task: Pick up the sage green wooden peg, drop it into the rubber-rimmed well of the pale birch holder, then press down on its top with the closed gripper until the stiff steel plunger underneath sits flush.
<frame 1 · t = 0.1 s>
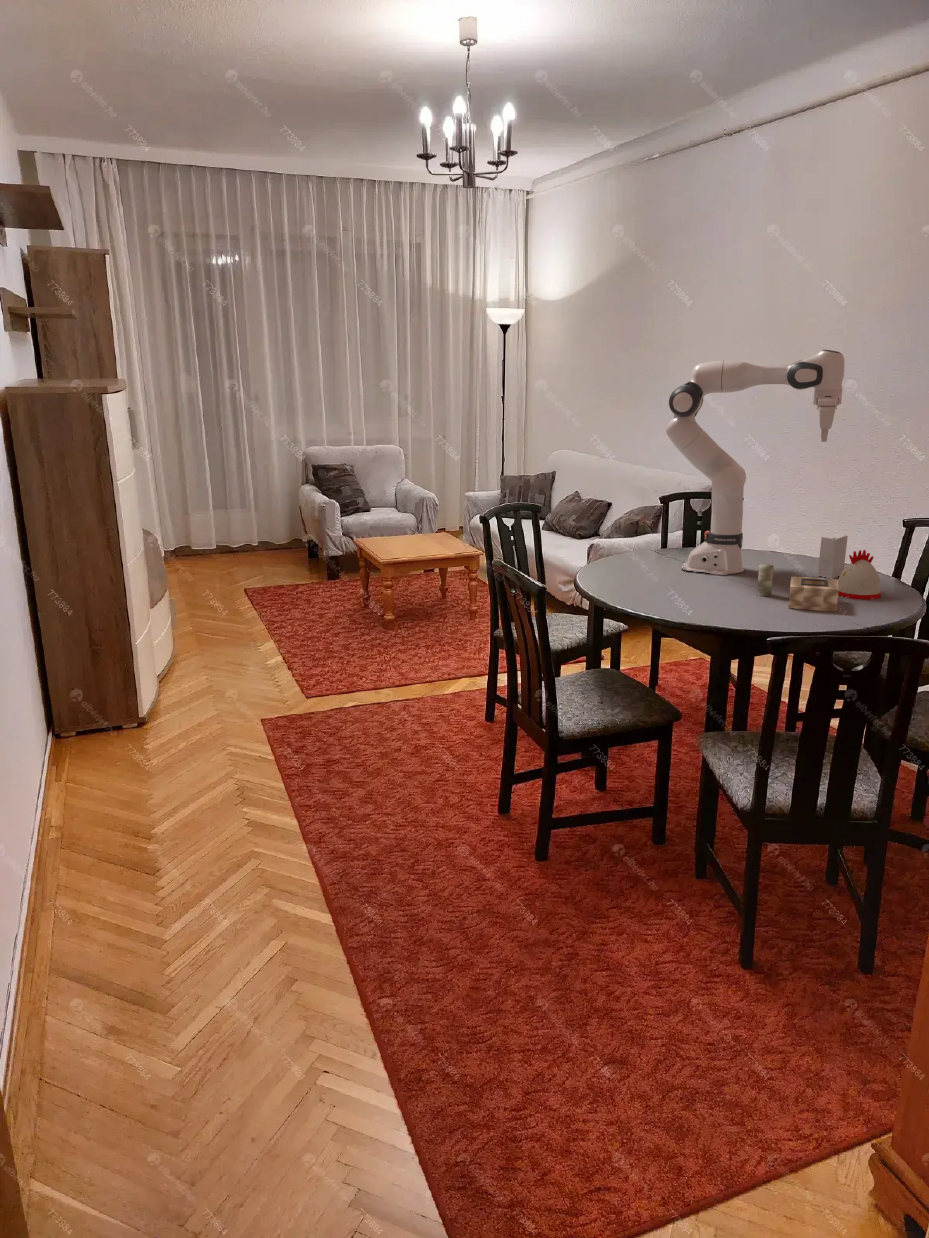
hand: (823, 440, 300), 48 cm above the table, tool pointing down, fingers open, 8 cm apart
plunger: (813, 590, 276), point 5 cm above the table, slide at 3.0 cm
peg: (764, 594, 289), on the table
skincare box: (830, 576, 311), on the table
kitchen timer: (857, 595, 287), on the table
birch holder: (812, 604, 277), on the table
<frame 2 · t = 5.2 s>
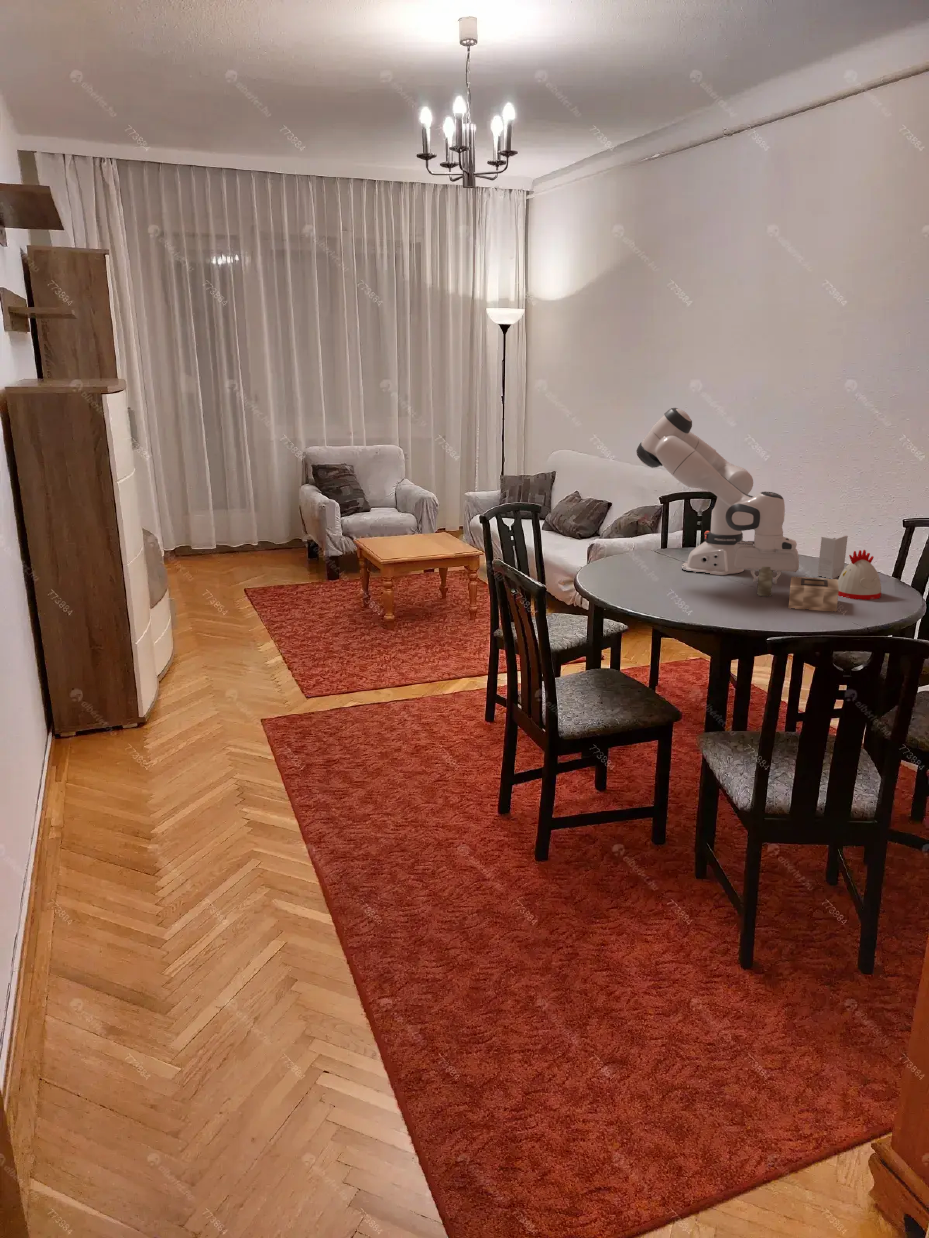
hand: (765, 582, 288), 4 cm above the table, tool pointing down, fingers closed on peg, 4 cm apart
peg: (764, 594, 289), on the table, touching gripper
everything else where it was.
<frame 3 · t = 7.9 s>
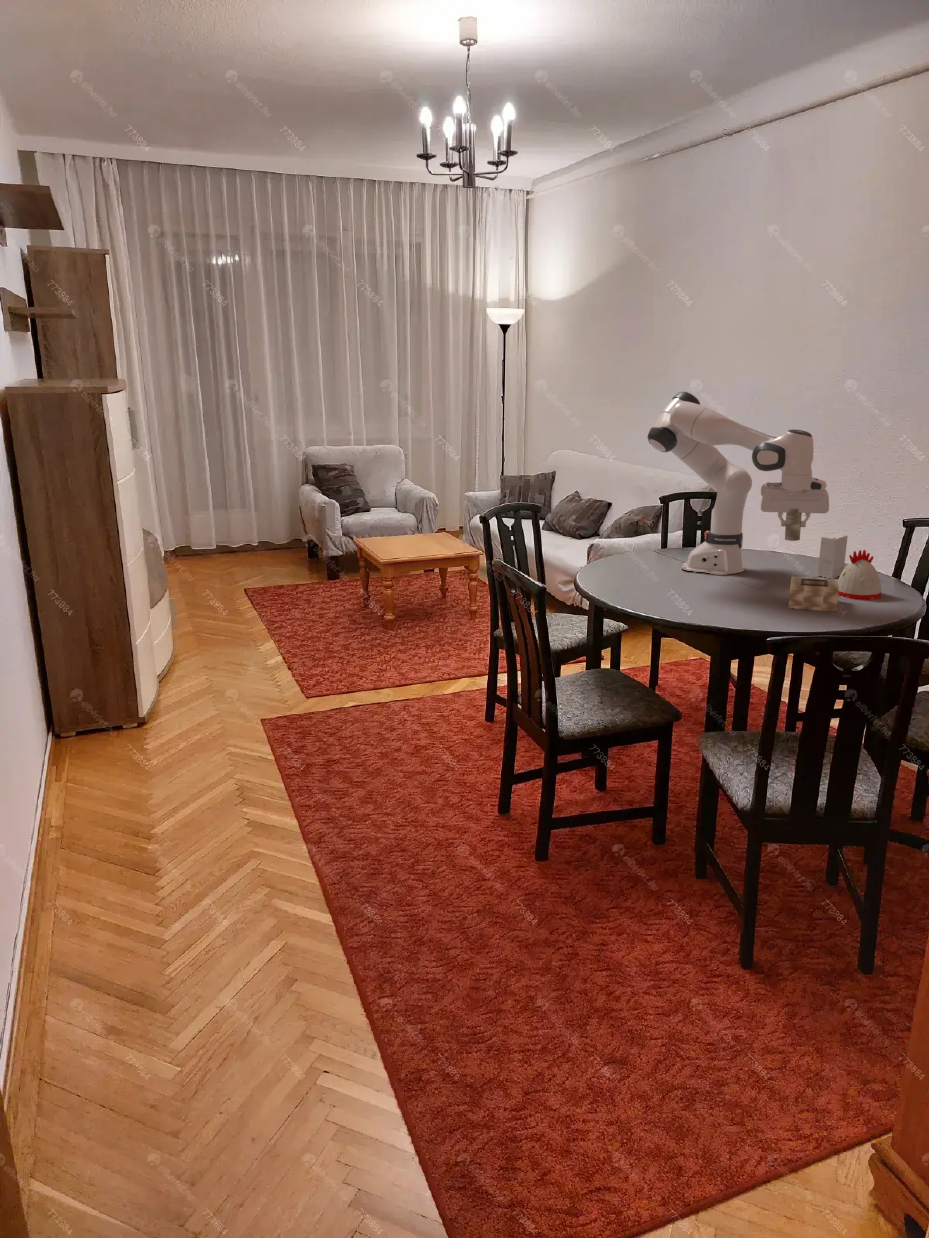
hand: (793, 526, 275), 24 cm above the table, tool pointing down, fingers closed on peg, 4 cm apart
peg: (792, 539, 276), point 20 cm above the table, touching gripper
everything else where it was.
when the fingers open (10 cm above the table, at t = 10.9 s): peg drops 1 cm, resting on plunger.
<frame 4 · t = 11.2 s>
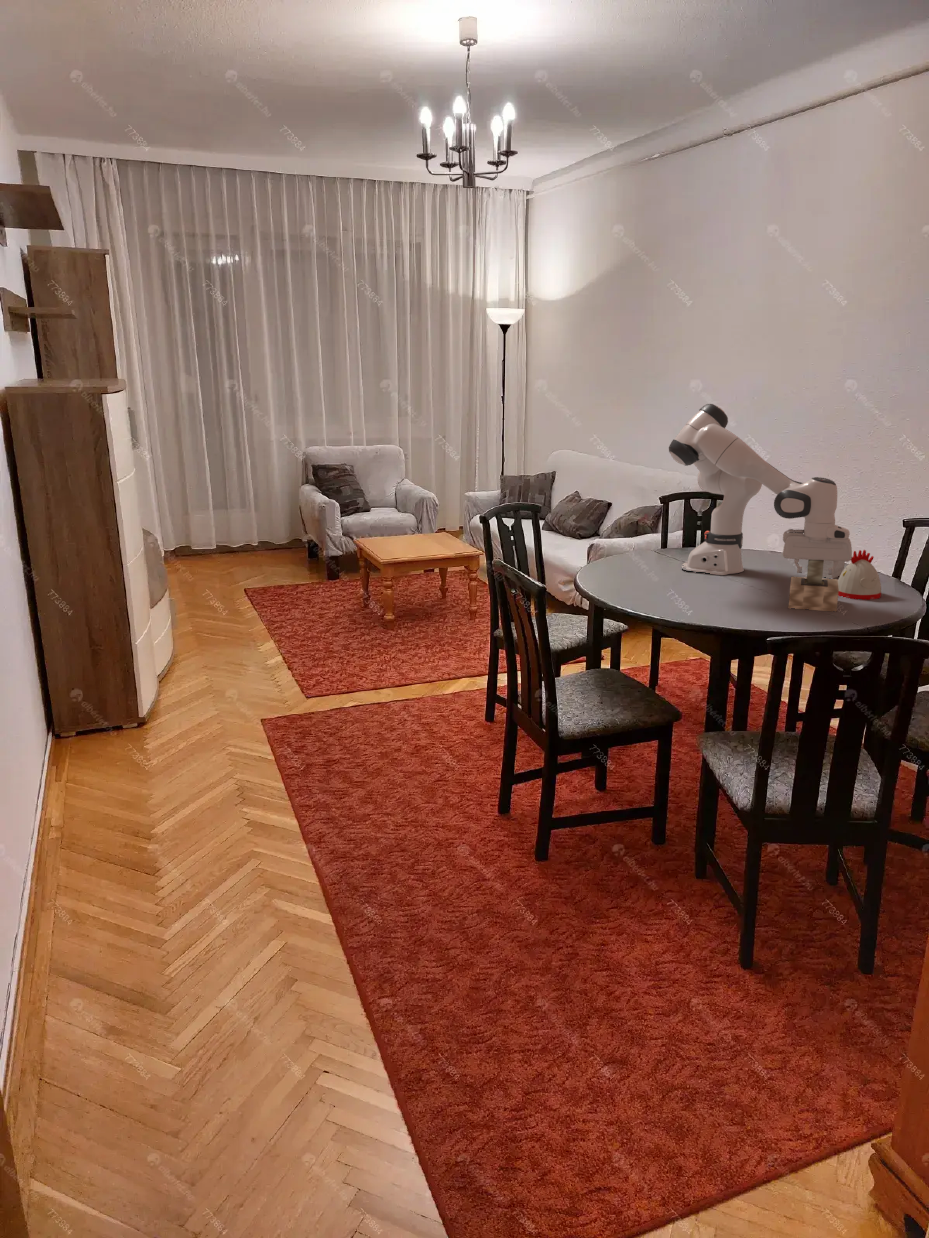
hand: (815, 573, 274), 10 cm above the table, tool pointing down, fingers open, 8 cm apart
plunger: (813, 592, 276), point 4 cm above the table, slide at 2.4 cm, touching peg
peg: (813, 590, 276), point 5 cm above the table, touching plunger
everything else where it was.
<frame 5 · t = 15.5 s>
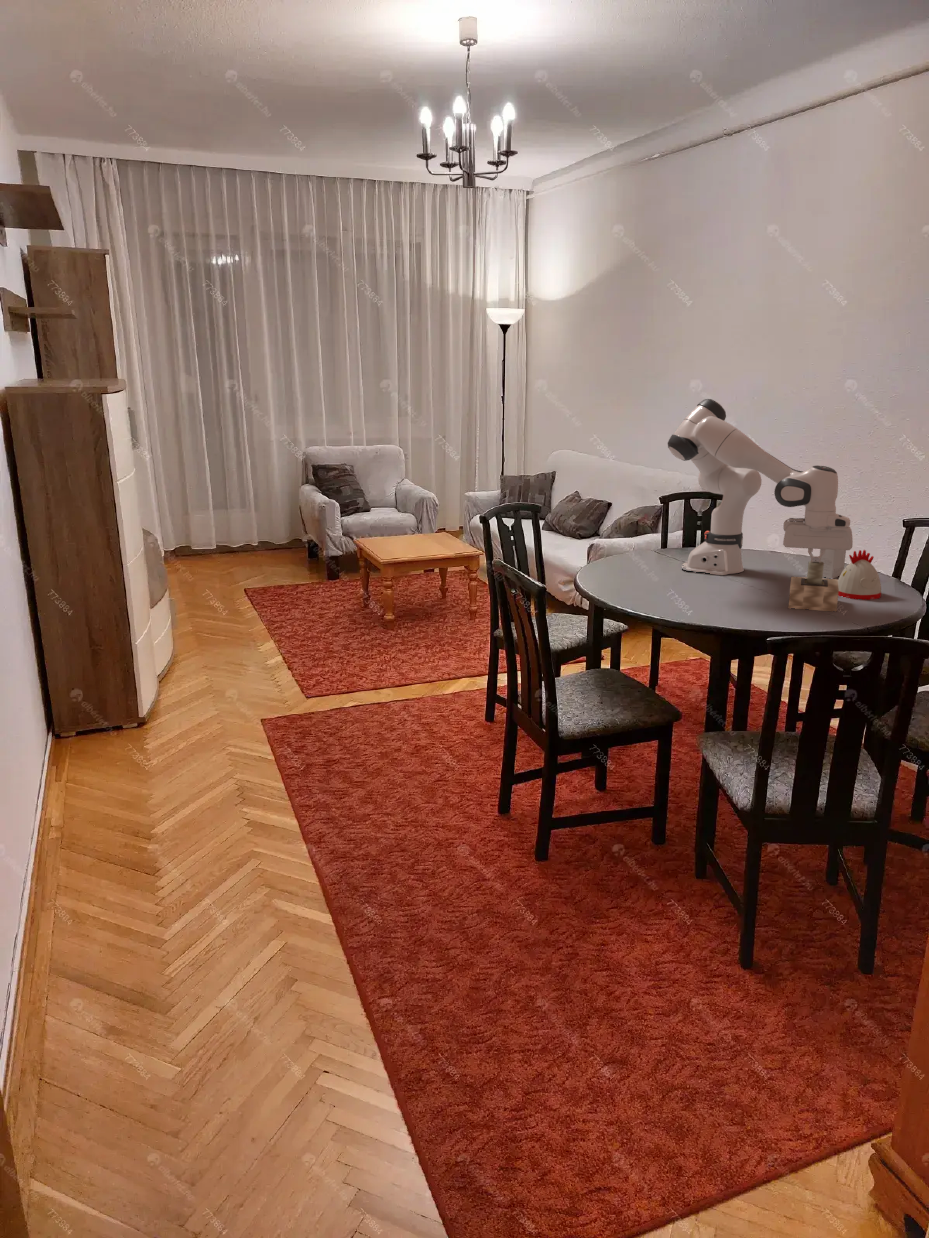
hand: (815, 562, 273), 14 cm above the table, tool pointing down, fingers closed, pressing on peg
plunger: (813, 594, 276), point 3 cm above the table, slide at 1.5 cm, touching peg
peg: (813, 593, 276), point 4 cm above the table, touching gripper, plunger
everything else where it was.
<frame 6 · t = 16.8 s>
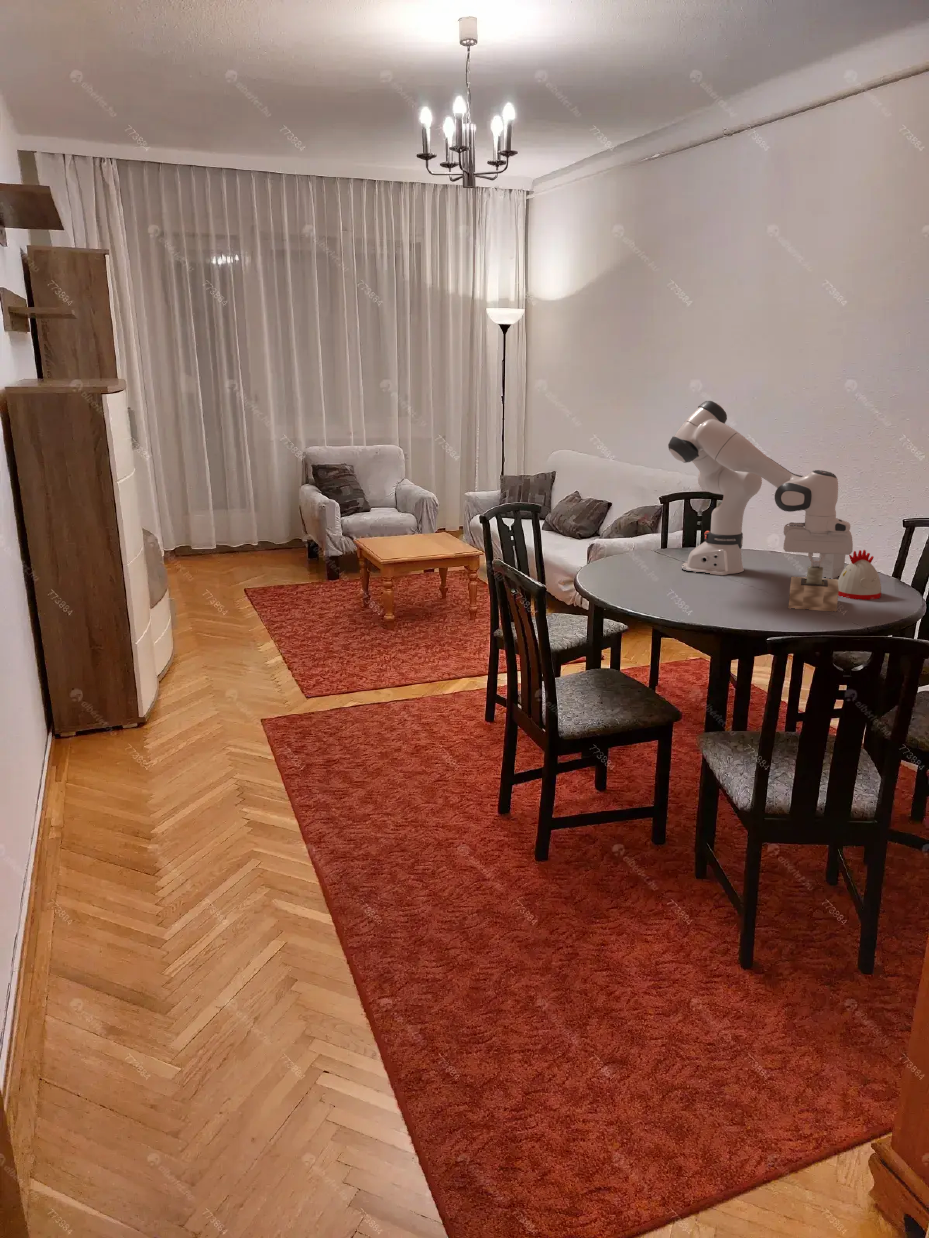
hand: (815, 566, 273), 12 cm above the table, tool pointing down, fingers closed
plunger: (812, 599, 276), point 2 cm above the table, slide at -0.1 cm, touching peg
peg: (812, 598, 276), point 2 cm above the table, touching plunger
everything else where it was.
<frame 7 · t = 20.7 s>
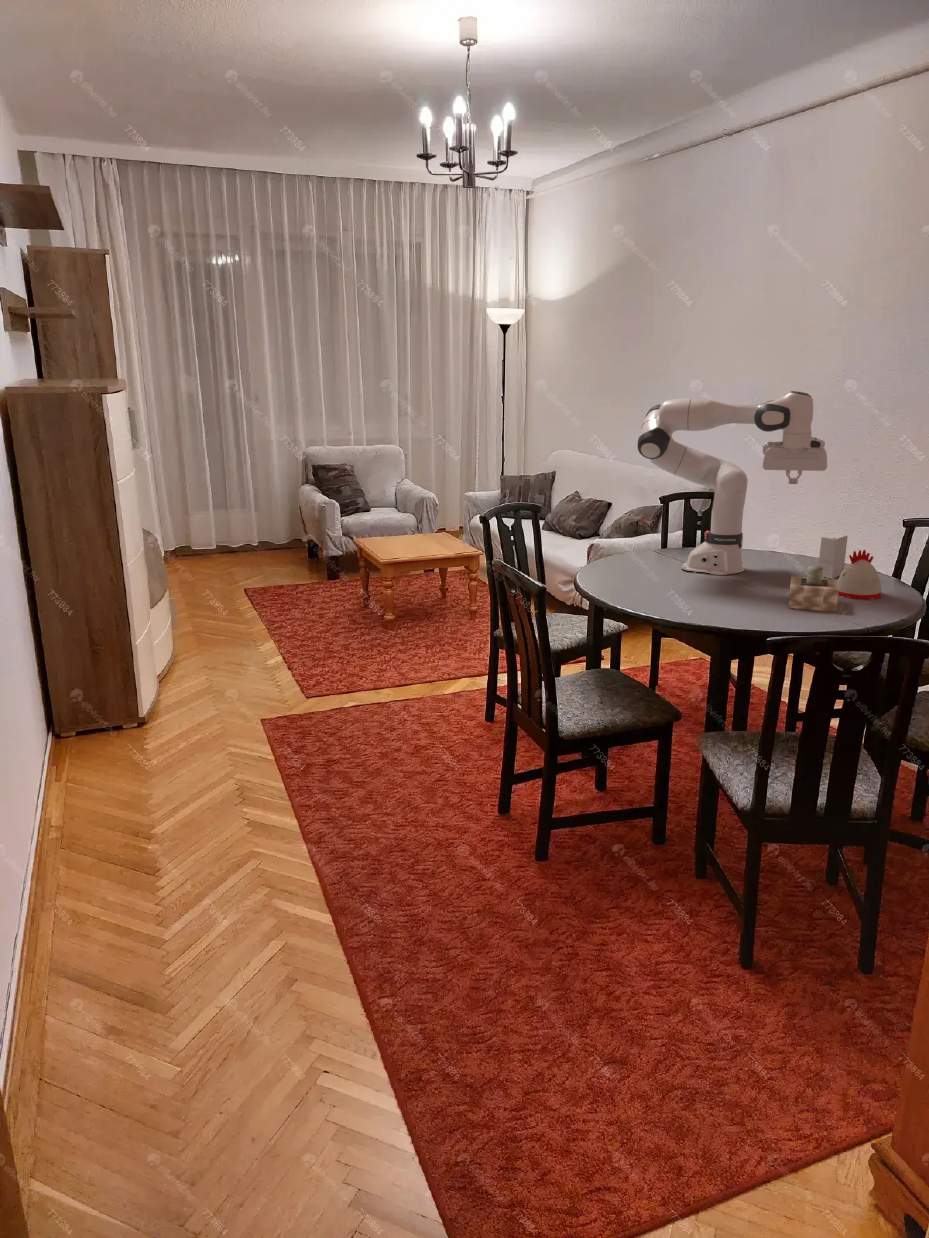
hand: (793, 483, 291), 35 cm above the table, tool pointing down, fingers closed
nothing on the table moved.
at the end: plunger slide at -0.1 cm; peg 0.1 cm off-centre on the birch holder, point 2.0 cm above the birch holder's base; peg tilted 0° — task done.
